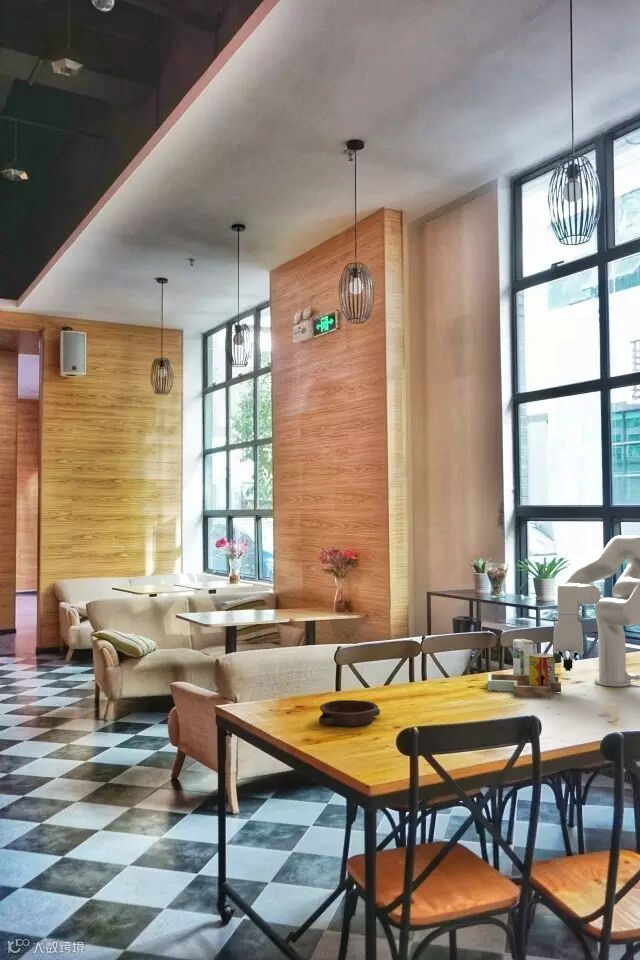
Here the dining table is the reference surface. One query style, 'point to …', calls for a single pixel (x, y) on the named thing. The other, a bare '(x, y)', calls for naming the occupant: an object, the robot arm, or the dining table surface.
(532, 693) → the open walled frame
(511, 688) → the end bay
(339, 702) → the dish
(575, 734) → the dining table surface
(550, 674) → the beverage can
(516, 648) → the syrup box
